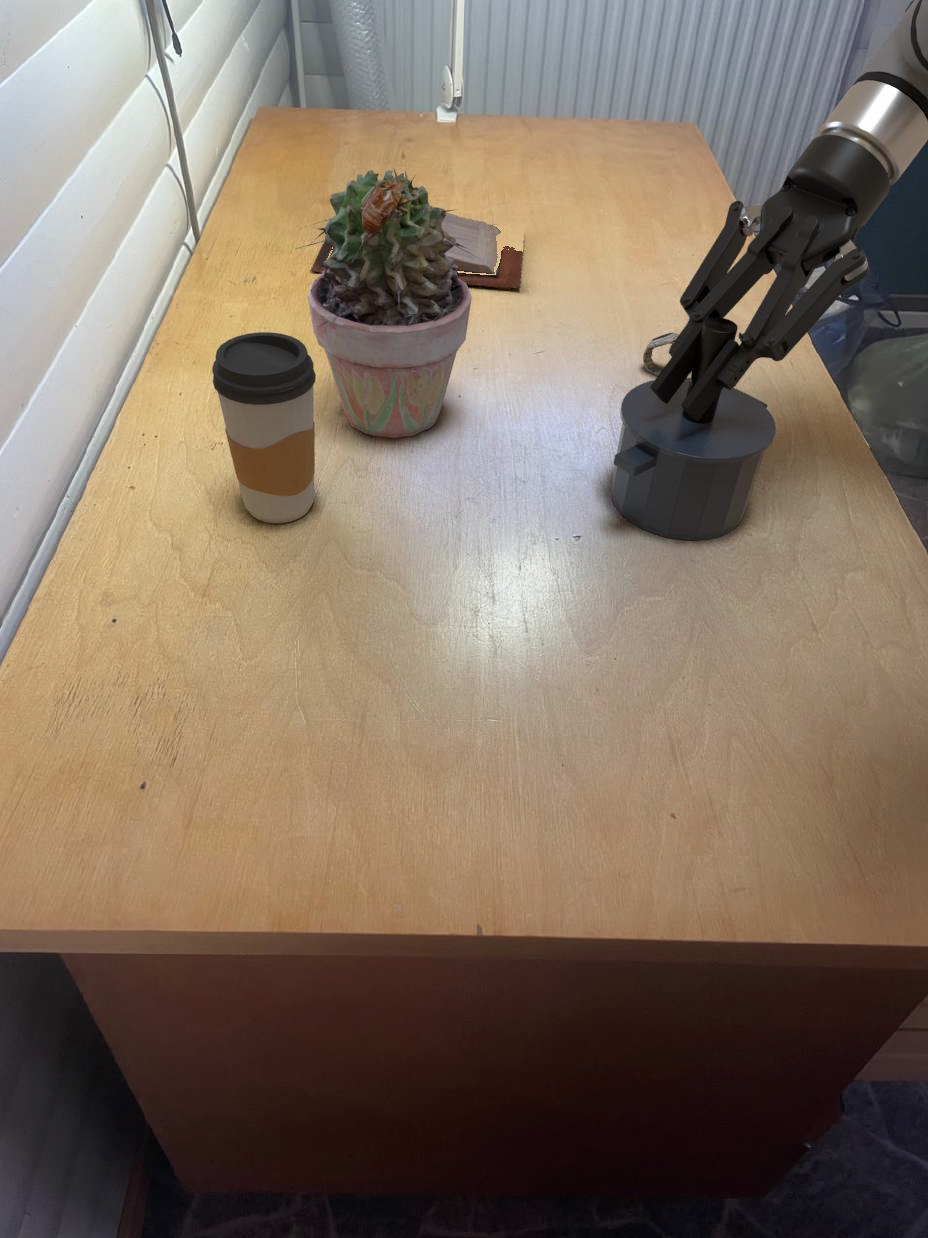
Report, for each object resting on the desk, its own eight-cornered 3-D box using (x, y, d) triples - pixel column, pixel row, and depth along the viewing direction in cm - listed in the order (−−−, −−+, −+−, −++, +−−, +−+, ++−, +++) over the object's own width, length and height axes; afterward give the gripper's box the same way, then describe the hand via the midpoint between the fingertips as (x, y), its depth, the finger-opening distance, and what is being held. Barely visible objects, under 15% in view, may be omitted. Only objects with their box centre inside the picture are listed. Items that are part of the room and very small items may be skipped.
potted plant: (429, 352, 106) (433, 115, 89) (507, 438, 93) (529, 181, 76) (279, 380, 100) (252, 132, 83) (340, 476, 87) (324, 206, 70)
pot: (788, 498, 88) (815, 421, 82) (662, 569, 79) (682, 489, 73) (689, 440, 95) (707, 365, 89) (563, 499, 86) (574, 421, 80)
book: (336, 221, 134) (333, 190, 131) (526, 231, 133) (528, 199, 130) (309, 286, 121) (305, 253, 118) (519, 298, 120) (521, 265, 116)
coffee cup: (291, 467, 88) (275, 319, 78) (343, 507, 84) (334, 357, 73) (215, 500, 84) (188, 348, 73) (266, 544, 79) (245, 390, 69)
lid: (803, 437, 81) (839, 335, 74) (703, 488, 75) (733, 382, 68) (687, 374, 89) (710, 276, 82) (587, 416, 82) (603, 313, 75)
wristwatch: (652, 361, 107) (660, 320, 103) (695, 381, 104) (705, 340, 100) (633, 370, 105) (641, 329, 102) (677, 391, 102) (687, 350, 99)
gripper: (946, 220, 73) (759, 464, 76) (783, 163, 81) (623, 384, 85) (937, 160, 66) (735, 428, 70) (762, 105, 75) (590, 346, 79)
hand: (674, 403), depth 77 cm, fingers closed on lid, 3 cm apart
